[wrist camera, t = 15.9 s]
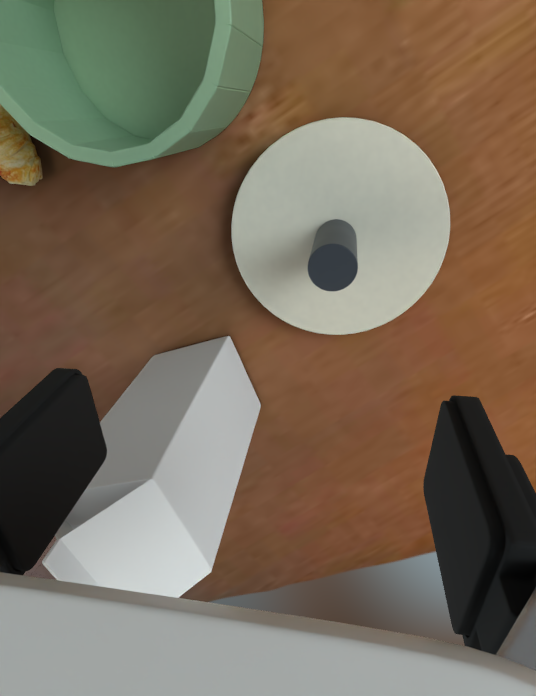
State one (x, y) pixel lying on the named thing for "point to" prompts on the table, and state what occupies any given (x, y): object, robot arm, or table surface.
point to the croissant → (17, 153)
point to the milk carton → (163, 475)
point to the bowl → (127, 73)
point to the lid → (340, 226)
